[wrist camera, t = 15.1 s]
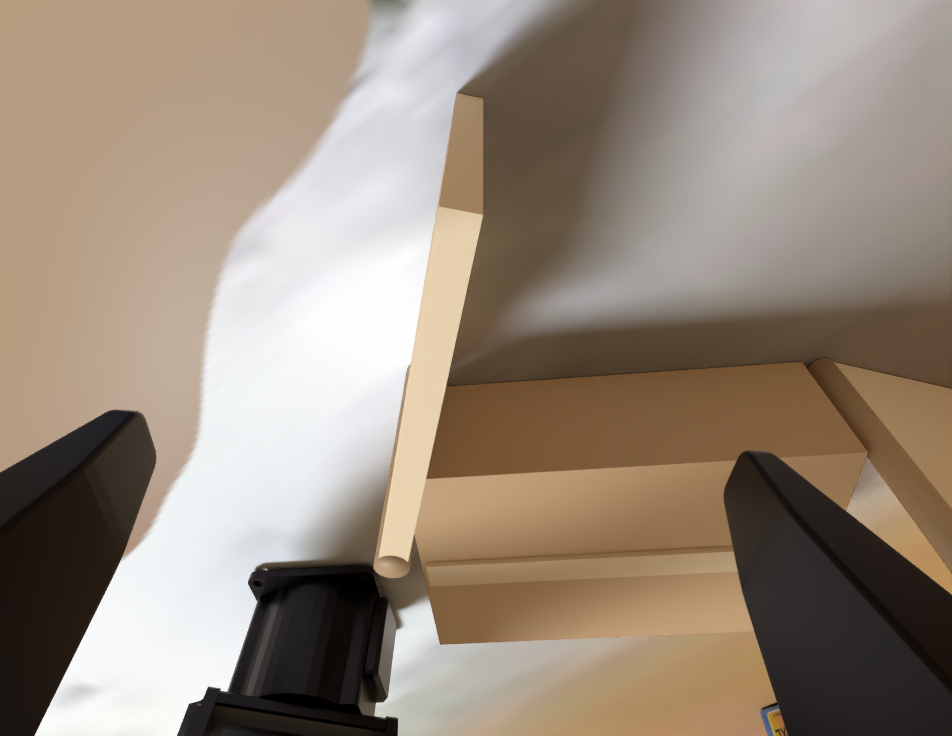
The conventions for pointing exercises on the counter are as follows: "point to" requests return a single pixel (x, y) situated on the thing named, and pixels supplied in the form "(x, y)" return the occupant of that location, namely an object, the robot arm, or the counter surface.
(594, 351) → the counter surface
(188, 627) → the counter surface
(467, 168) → the side flap
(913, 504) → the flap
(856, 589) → the robot arm
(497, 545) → the carton
